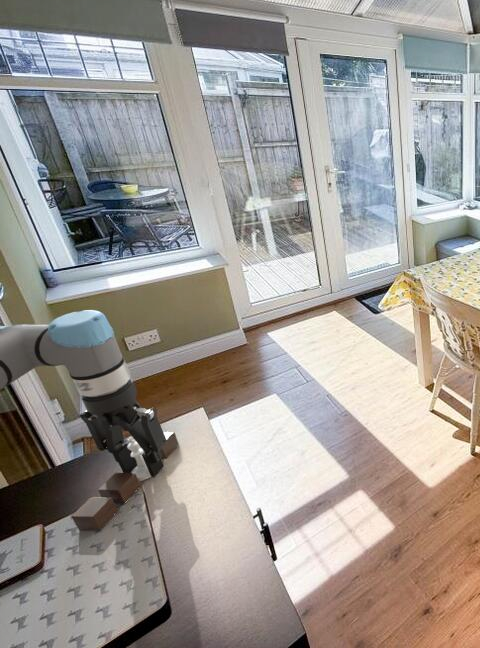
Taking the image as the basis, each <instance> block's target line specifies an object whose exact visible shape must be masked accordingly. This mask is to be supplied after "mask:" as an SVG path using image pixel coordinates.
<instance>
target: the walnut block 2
mask: <svg viewBox="0 0 480 648" xmlns="http://www.w3.org/2000/svg"><path fill="white" fill-rule="evenodd" d="M138 488H139V489H141V488H142V485H141V483H140V481H138V479H137V476H136V474H135V473H123V472H114V473H113V474H112V475H111V477H109V478H108V479H107V480H106V481H105V482H104V483H103V484H102V485H101V486H100V487H99V488H98V489H97V491H98V493H99V495H100V497H111V498H112V499H113V501H114V503H115V505H121V504H120V503H125V502H126V501H127V500H128V499H129V498H130V497H131V498H132V497H134V495H135V494H136V493H137V492H138V490H139V489H138ZM136 490H137V491H136ZM135 491H136V492H135ZM131 498H130V499H131ZM130 499H129V500H130ZM129 500H128V501H129ZM128 501H127V502H126V503H125V504H124V505H126V504H127V503H128Z"/></svg>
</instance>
